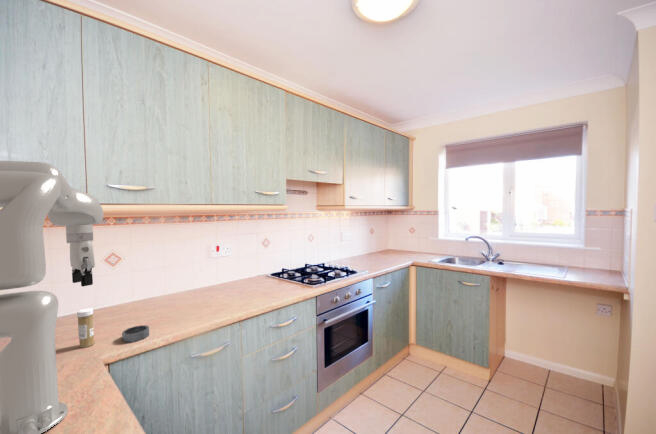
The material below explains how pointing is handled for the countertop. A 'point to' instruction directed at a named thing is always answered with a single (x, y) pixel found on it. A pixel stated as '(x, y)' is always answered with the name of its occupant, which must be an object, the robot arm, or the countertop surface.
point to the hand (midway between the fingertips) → (82, 283)
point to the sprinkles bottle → (85, 327)
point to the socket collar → (135, 333)
